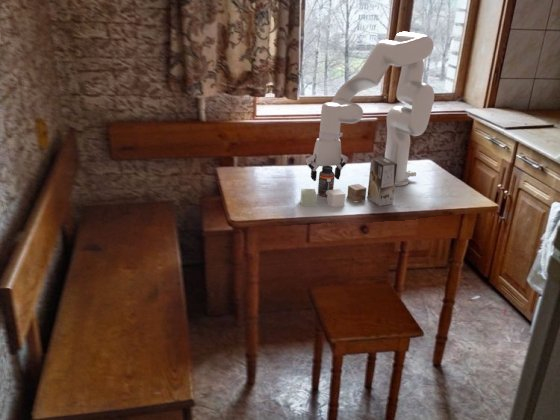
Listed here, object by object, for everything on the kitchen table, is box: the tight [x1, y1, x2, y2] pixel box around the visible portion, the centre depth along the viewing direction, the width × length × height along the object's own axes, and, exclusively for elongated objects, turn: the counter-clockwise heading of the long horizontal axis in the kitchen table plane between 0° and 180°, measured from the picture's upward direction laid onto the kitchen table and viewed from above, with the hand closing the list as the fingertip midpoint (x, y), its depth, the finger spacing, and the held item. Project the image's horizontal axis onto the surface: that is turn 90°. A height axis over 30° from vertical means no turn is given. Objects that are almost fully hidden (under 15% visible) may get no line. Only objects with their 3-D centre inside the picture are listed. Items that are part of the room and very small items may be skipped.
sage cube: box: [300, 188, 317, 207], centre depth 207 cm, size 5×5×5 cm
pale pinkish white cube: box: [326, 188, 346, 208], centre depth 207 cm, size 5×5×5 cm
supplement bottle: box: [317, 166, 335, 198], centre depth 215 cm, size 6×6×11 cm
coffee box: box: [366, 156, 397, 207], centre depth 210 cm, size 9×6×16 cm
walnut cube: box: [346, 183, 368, 203], centre depth 213 cm, size 5×5×5 cm
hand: (325, 179), depth 214 cm, fingers open, 9 cm apart
